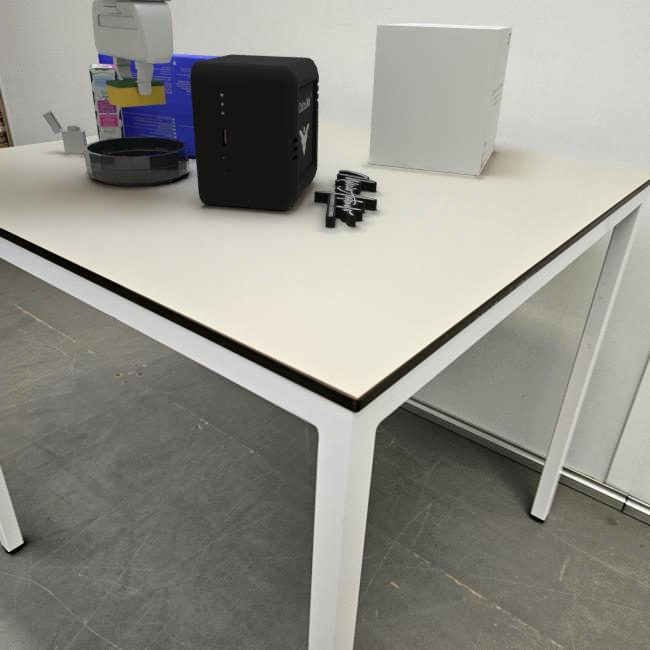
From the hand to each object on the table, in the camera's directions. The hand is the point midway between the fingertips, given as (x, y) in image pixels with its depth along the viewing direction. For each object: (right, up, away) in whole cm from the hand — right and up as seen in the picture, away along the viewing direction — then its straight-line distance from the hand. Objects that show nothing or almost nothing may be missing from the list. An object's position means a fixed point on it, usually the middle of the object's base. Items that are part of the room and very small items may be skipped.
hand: (136, 92), depth 89 cm
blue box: (+1, 0, +33) cm, 34 cm away
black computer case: (+18, -14, +8) cm, 24 cm away
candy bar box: (-14, -1, +31) cm, 34 cm away
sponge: (0, -1, +1) cm, 2 cm away
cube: (+51, 0, +36) cm, 63 cm away
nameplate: (+31, -15, +6) cm, 35 cm away
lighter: (-23, 0, +31) cm, 39 cm away
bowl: (-5, -8, +17) cm, 19 cm away
